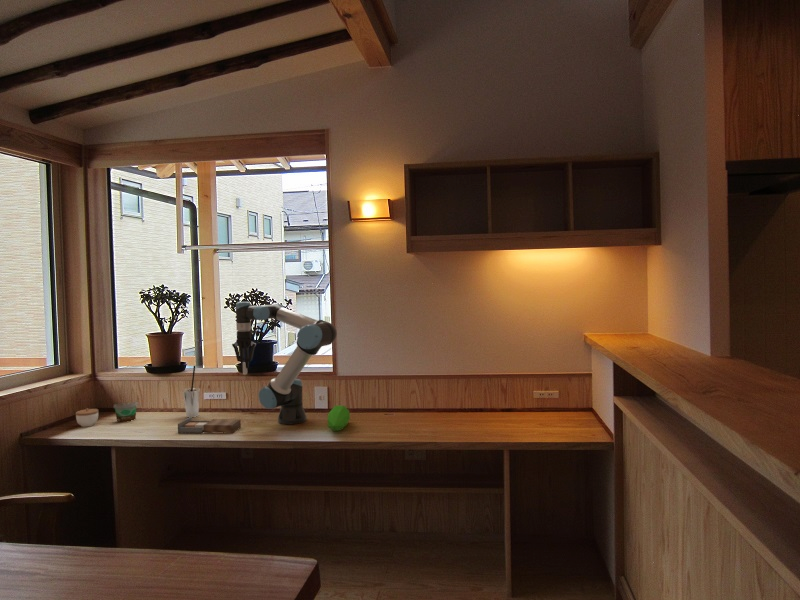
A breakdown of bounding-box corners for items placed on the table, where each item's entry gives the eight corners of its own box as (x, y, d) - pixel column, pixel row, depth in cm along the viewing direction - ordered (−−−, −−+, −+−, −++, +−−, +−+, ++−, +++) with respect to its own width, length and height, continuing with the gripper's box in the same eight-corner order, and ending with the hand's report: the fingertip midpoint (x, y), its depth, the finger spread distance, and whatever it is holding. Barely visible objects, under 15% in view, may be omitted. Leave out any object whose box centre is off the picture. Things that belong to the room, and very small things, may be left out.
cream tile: (208, 427, 280) (208, 422, 280) (204, 430, 275) (204, 425, 275) (199, 427, 280) (199, 422, 280) (195, 429, 275) (194, 425, 275)
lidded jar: (86, 428, 283) (85, 411, 283) (71, 427, 287) (70, 409, 286) (103, 423, 294) (102, 406, 293) (88, 422, 297) (88, 405, 297)
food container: (116, 424, 291) (115, 405, 291) (113, 421, 296) (113, 404, 296) (140, 420, 299) (140, 402, 299) (138, 417, 304) (137, 400, 304)
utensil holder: (196, 419, 298) (194, 365, 297) (178, 418, 301) (176, 365, 299) (207, 414, 309) (205, 362, 308) (189, 413, 311) (187, 362, 310)
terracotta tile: (189, 422, 280) (189, 427, 281) (184, 425, 276) (184, 429, 276) (198, 422, 280) (198, 427, 280) (193, 425, 275) (194, 429, 275)
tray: (213, 426, 284) (212, 416, 283) (201, 433, 271) (201, 423, 270) (190, 426, 285) (190, 416, 285) (178, 433, 272) (177, 423, 271)
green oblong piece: (346, 399, 288) (339, 410, 258) (355, 418, 288) (348, 432, 258) (327, 407, 288) (317, 420, 258) (335, 426, 288) (327, 441, 258)
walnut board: (240, 427, 281) (240, 419, 281) (232, 433, 270) (232, 425, 270) (213, 426, 283) (212, 419, 282) (203, 432, 272) (203, 425, 271)
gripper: (229, 331, 284) (230, 375, 285) (253, 331, 283) (254, 375, 284) (234, 330, 292) (236, 373, 293) (258, 329, 291) (259, 372, 292)
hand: (245, 374), depth 289 cm, fingers closed
